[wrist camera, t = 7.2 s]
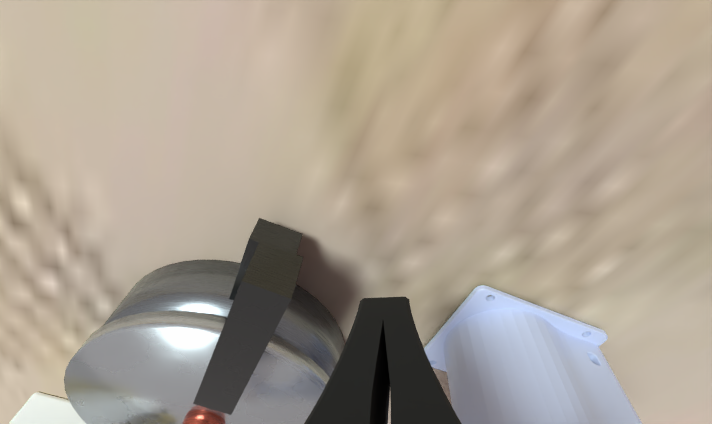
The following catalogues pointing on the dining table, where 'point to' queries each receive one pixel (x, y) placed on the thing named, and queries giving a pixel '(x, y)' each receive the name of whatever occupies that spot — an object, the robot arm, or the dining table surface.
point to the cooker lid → (201, 360)
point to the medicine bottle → (47, 411)
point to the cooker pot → (218, 290)
